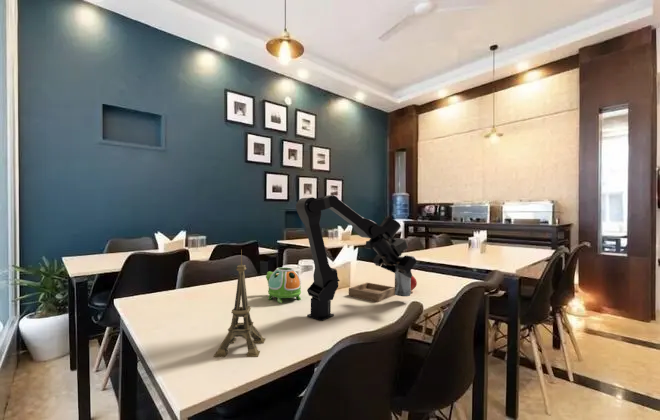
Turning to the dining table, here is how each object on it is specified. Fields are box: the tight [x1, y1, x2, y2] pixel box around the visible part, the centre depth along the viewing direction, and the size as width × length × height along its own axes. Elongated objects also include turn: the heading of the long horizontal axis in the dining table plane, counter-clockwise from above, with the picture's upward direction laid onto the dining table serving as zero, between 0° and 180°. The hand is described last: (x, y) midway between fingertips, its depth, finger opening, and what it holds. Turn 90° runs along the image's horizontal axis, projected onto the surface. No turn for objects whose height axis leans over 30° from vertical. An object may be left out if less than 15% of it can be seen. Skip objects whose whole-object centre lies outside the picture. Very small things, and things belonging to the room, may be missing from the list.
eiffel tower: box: [212, 249, 266, 358], centre depth 82 cm, size 11×11×25 cm
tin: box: [394, 255, 412, 297], centre depth 124 cm, size 6×6×14 cm
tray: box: [348, 282, 396, 303], centre depth 133 cm, size 14×14×3 cm
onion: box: [411, 275, 418, 292], centre depth 140 cm, size 6×6×8 cm
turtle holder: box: [265, 266, 302, 304], centre depth 129 cm, size 12×18×12 cm
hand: (405, 275), depth 125 cm, fingers closed on tin, 6 cm apart
